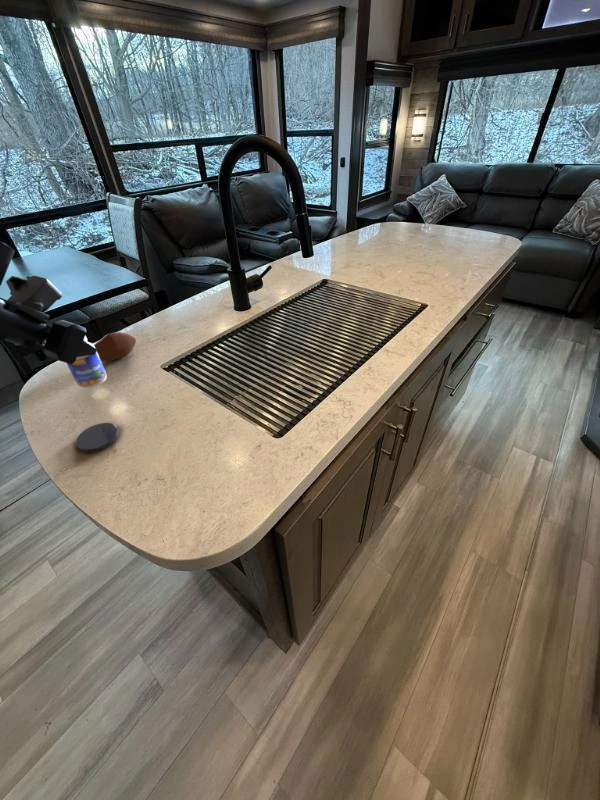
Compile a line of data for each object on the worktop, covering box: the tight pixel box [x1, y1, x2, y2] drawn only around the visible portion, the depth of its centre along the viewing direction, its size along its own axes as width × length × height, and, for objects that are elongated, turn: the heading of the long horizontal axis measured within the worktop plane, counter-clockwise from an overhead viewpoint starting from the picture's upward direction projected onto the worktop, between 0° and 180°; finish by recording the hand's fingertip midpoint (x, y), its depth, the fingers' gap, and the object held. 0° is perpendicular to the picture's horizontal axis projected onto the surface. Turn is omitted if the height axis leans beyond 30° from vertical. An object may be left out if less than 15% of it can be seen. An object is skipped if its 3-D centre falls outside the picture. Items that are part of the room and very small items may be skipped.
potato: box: [93, 331, 137, 362], centre depth 84 cm, size 6×12×6 cm, turn 141°
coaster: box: [75, 422, 120, 453], centre depth 62 cm, size 7×7×1 cm
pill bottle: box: [66, 335, 108, 389], centre depth 63 cm, size 5×5×10 cm
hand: (86, 348), depth 63 cm, fingers closed on pill bottle, 5 cm apart
